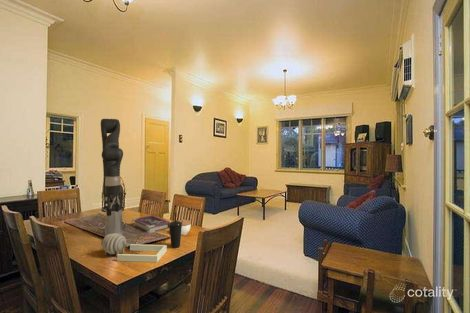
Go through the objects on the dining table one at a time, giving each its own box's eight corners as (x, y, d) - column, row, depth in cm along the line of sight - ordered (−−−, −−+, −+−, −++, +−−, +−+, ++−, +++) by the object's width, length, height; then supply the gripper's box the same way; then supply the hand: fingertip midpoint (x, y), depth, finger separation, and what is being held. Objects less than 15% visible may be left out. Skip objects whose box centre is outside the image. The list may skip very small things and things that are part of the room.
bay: (117, 260, 126) (117, 254, 126) (130, 249, 141) (130, 244, 141) (157, 262, 125) (157, 256, 125) (166, 250, 139) (166, 245, 139)
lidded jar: (187, 236, 162) (187, 222, 162) (171, 235, 164) (171, 221, 164) (193, 231, 172) (193, 217, 172) (178, 230, 174) (178, 216, 174)
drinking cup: (169, 244, 149) (169, 210, 148) (183, 244, 149) (183, 210, 149) (167, 249, 141) (167, 214, 140) (181, 249, 142) (181, 213, 141)
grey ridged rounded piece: (108, 249, 141) (108, 229, 141) (135, 252, 137) (135, 231, 137) (94, 257, 131) (93, 235, 130) (122, 260, 127) (122, 238, 127)
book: (132, 225, 186) (132, 219, 186) (152, 221, 197) (152, 215, 197) (148, 234, 168) (148, 226, 168) (170, 228, 180) (170, 221, 180)
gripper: (112, 182, 146) (113, 210, 146) (98, 186, 132) (99, 216, 132) (125, 182, 146) (125, 210, 146) (112, 186, 132) (113, 217, 132)
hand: (113, 213), depth 139 cm, fingers open, 8 cm apart
